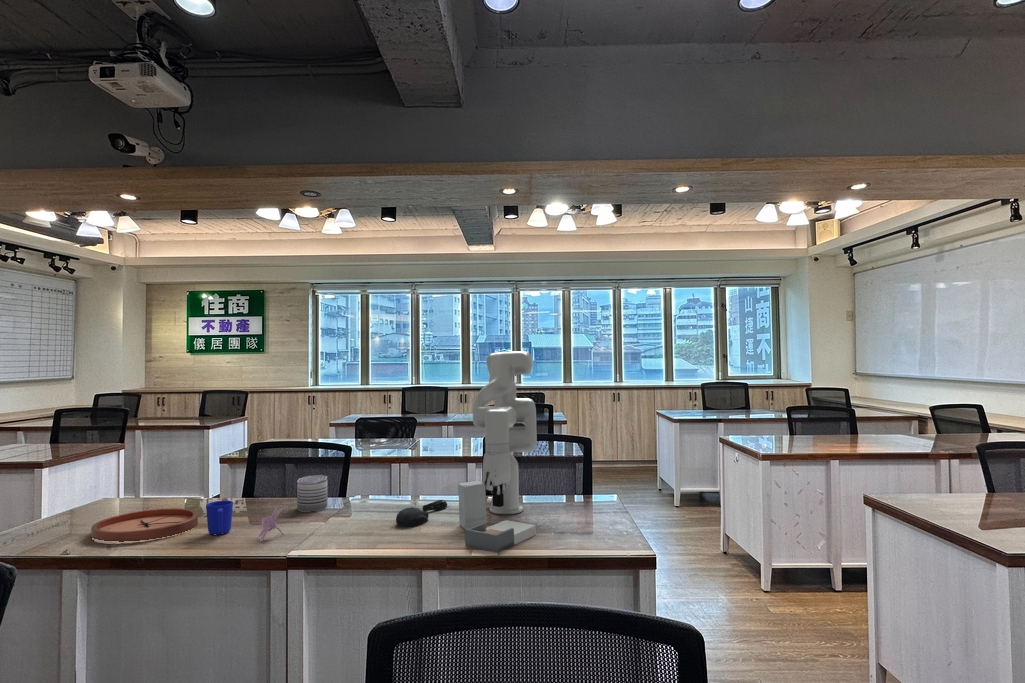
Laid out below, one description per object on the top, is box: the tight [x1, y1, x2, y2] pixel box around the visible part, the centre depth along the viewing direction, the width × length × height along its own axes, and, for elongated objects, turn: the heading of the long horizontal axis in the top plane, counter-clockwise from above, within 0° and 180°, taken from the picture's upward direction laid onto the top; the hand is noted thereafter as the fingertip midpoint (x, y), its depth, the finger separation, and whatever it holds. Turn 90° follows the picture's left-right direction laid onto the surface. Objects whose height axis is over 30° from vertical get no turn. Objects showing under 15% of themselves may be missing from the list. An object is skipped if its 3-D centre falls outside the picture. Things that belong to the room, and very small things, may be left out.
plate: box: [486, 519, 537, 546], centre depth 192 cm, size 12×12×3 cm
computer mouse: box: [395, 499, 448, 528], centre depth 219 cm, size 10×32×6 cm, turn 162°
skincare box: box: [457, 480, 487, 530], centre depth 205 cm, size 8×6×15 cm
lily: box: [258, 507, 285, 542], centre depth 195 cm, size 12×12×10 cm
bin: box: [464, 522, 514, 554], centre depth 183 cm, size 12×9×5 cm
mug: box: [205, 500, 234, 535], centre depth 199 cm, size 8×12×10 cm
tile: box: [484, 529, 503, 534], centre depth 185 cm, size 6×6×2 cm
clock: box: [90, 507, 199, 542], centre depth 206 cm, size 31×4×31 cm
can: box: [296, 474, 329, 513], centre depth 233 cm, size 11×11×12 cm
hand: (498, 505), depth 188 cm, fingers closed
